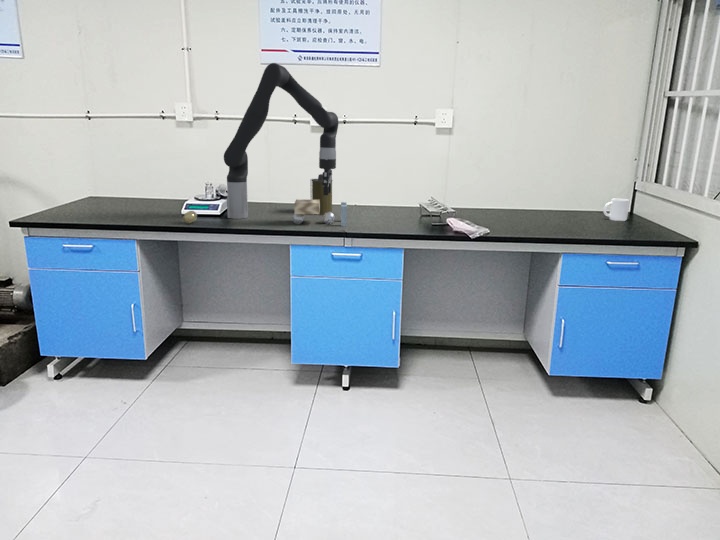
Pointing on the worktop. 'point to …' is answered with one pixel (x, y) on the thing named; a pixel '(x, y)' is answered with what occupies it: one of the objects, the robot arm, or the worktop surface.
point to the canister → (321, 195)
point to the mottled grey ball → (328, 217)
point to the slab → (307, 206)
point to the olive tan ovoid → (190, 217)
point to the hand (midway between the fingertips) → (327, 193)
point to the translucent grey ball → (298, 218)
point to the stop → (343, 214)
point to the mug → (617, 209)
